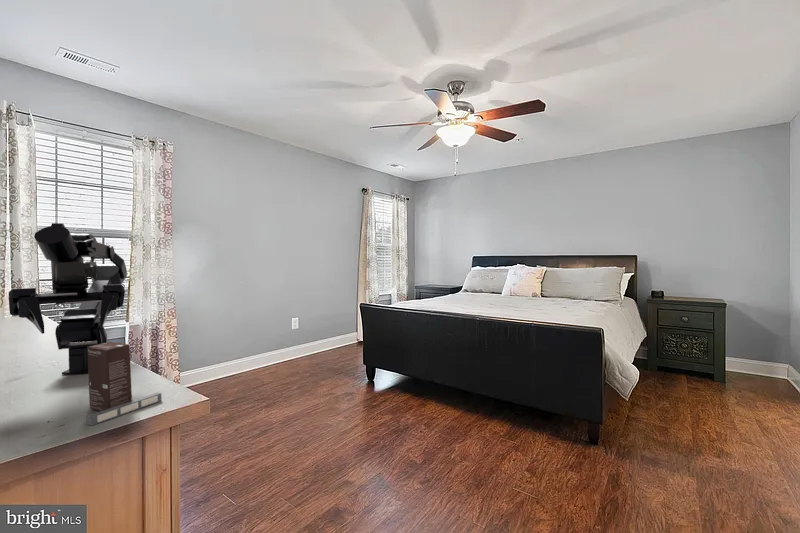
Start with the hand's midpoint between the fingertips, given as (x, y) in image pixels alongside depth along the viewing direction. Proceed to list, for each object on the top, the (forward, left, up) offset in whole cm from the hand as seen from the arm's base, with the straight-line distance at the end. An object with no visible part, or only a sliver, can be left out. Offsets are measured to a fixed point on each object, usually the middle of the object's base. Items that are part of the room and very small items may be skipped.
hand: (73, 329), depth 78 cm
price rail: (+14, +15, -14) cm, 24 cm away
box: (+11, +11, -14) cm, 21 cm away
